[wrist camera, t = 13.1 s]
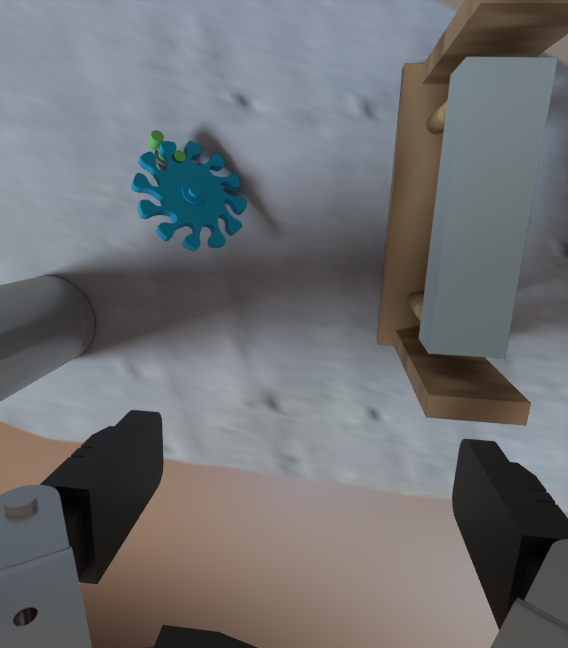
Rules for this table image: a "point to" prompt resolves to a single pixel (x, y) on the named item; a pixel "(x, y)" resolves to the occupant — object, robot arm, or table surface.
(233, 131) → the table surface
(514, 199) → the grey rectangular block
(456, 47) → the stand
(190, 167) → the gear
